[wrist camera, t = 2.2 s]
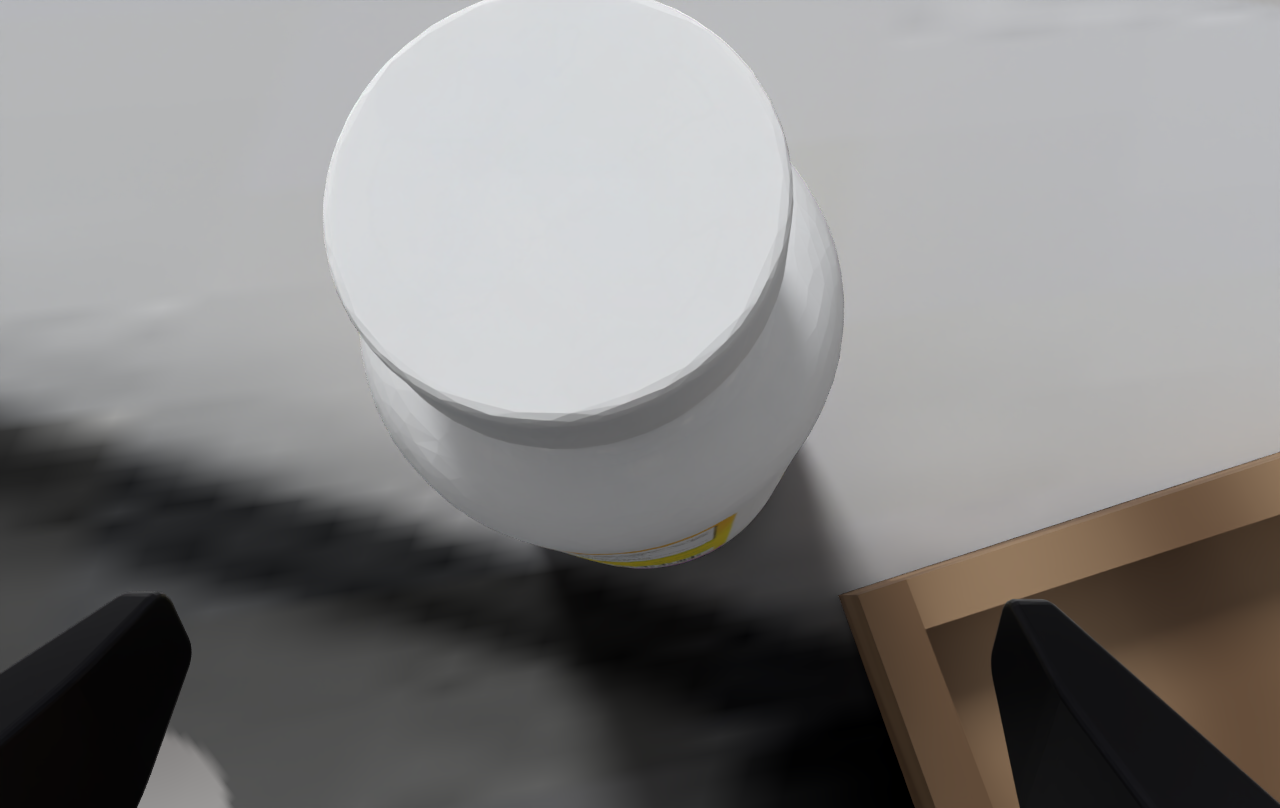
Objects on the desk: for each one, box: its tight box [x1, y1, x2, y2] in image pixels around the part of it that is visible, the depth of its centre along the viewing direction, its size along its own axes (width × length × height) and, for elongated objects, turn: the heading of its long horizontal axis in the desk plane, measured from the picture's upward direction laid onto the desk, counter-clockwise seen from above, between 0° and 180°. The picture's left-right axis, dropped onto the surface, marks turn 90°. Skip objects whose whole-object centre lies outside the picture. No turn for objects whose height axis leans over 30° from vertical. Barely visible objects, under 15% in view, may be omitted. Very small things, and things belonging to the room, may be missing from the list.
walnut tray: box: [838, 452, 1280, 808], centre depth 17 cm, size 12×12×3 cm
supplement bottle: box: [323, 0, 844, 569], centre depth 15 cm, size 7×7×13 cm
